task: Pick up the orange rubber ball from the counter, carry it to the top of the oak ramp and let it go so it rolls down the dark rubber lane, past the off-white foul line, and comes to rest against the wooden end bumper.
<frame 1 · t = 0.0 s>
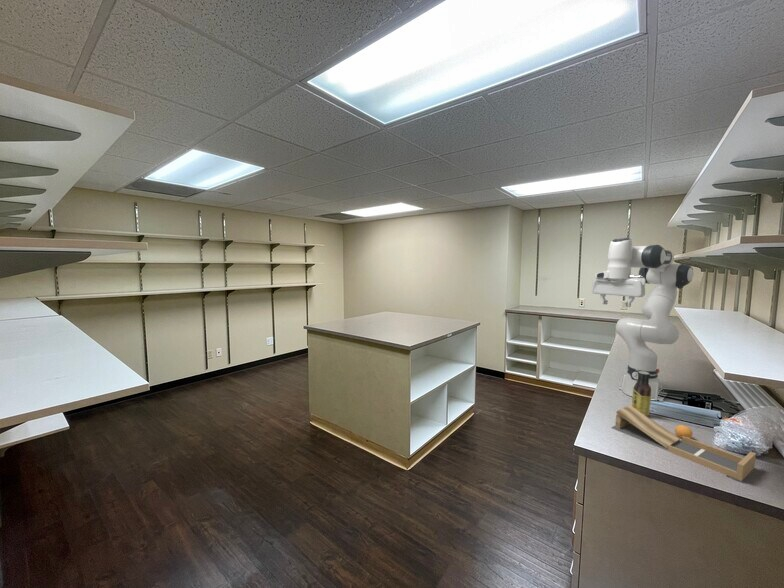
hand: (616, 305, 144), 48 cm above the counter, fingers open, 8 cm apart
ramp: (646, 434, 124), resting on lane
sauce bottle: (639, 416, 141), on the counter
ball: (682, 438, 122), on the counter
lane: (675, 446, 117), on the counter
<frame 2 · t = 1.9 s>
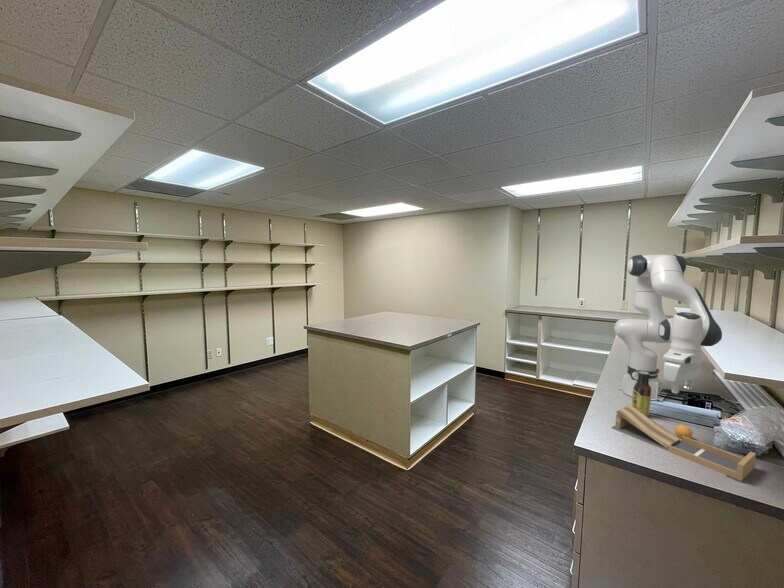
hand: (681, 391, 122), 18 cm above the counter, fingers open, 8 cm apart
nothing on the counter moved.
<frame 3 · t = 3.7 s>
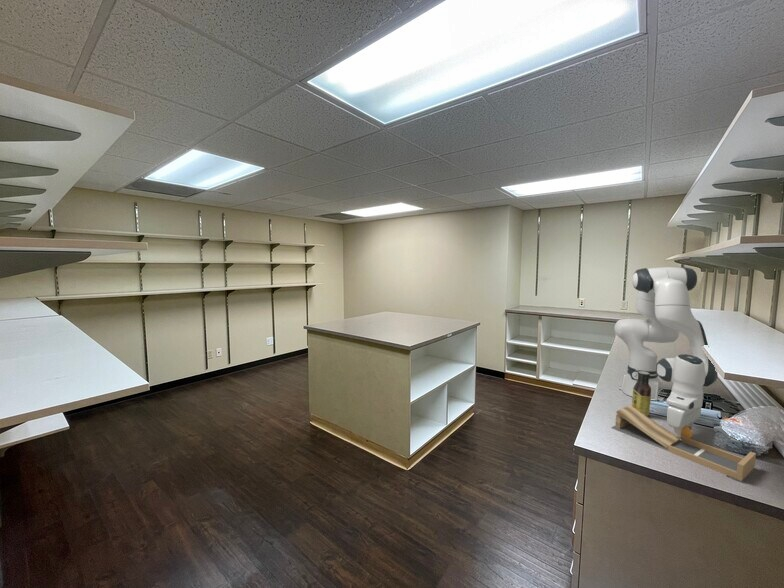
hand: (683, 433, 122), 2 cm above the counter, fingers open, 8 cm apart
nothing on the counter moved.
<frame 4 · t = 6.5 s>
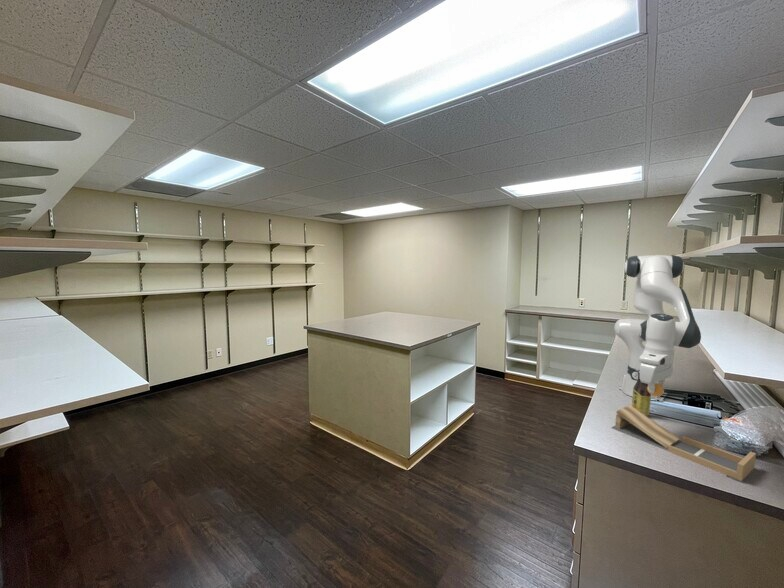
hand: (655, 390, 125), 17 cm above the counter, fingers closed on ball, 5 cm apart
ball: (655, 395, 125), point 15 cm above the counter, tilted 6°, touching gripper
everything else where it was.
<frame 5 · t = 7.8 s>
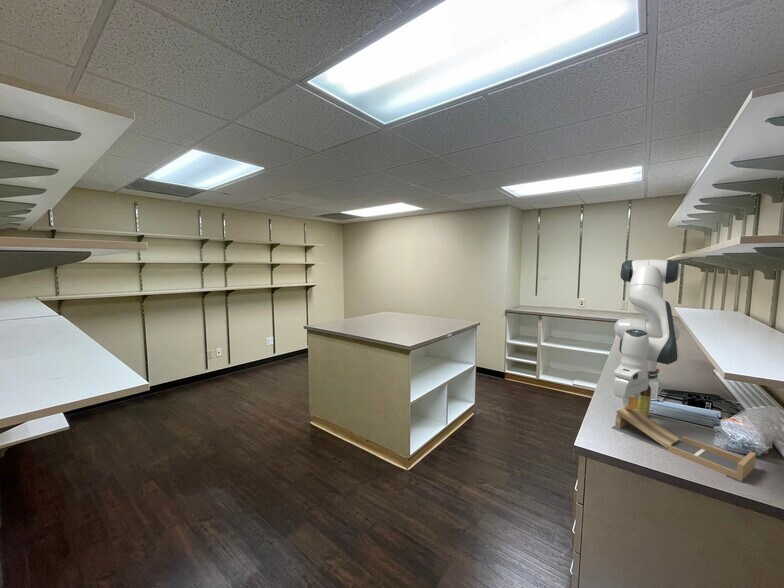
hand: (630, 403, 129), 10 cm above the counter, fingers closed on ball, 5 cm apart
ball: (630, 408, 129), point 8 cm above the counter, tilted 6°, touching gripper
everything else where it was.
when the fingers open (10 cm above the counter, at t = 8.5 s): ball drops 6 cm and tips over, resting on lane.
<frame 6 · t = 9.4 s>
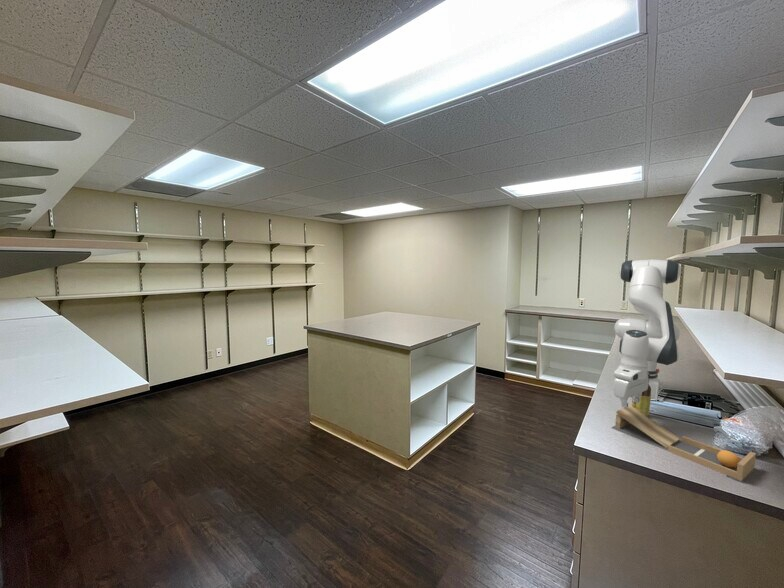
hand: (630, 404, 129), 10 cm above the counter, fingers open, 8 cm apart
ball: (718, 458, 107), point 2 cm above the counter, tilted 59°, touching lane
everything else where it was.
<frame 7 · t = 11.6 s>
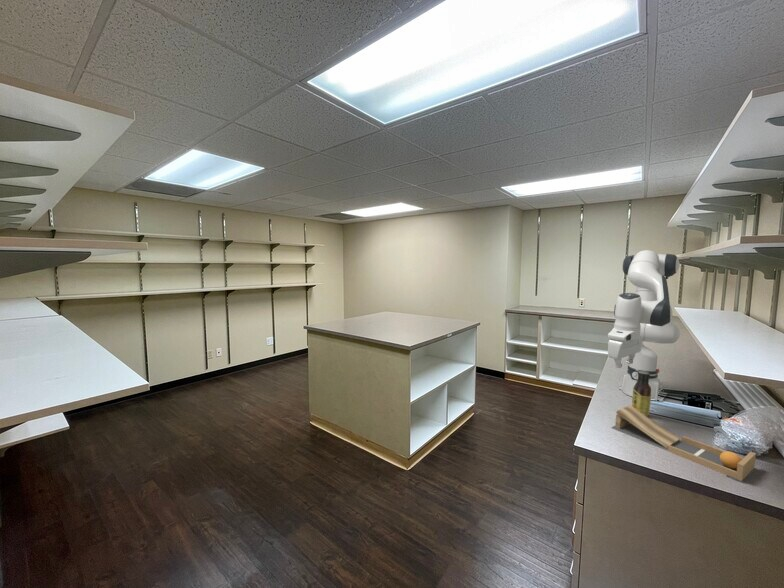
hand: (624, 365, 133), 24 cm above the counter, fingers open, 8 cm apart
ball: (720, 457, 106), point 2 cm above the counter, tilted 74°, touching lane
everything else where it was.
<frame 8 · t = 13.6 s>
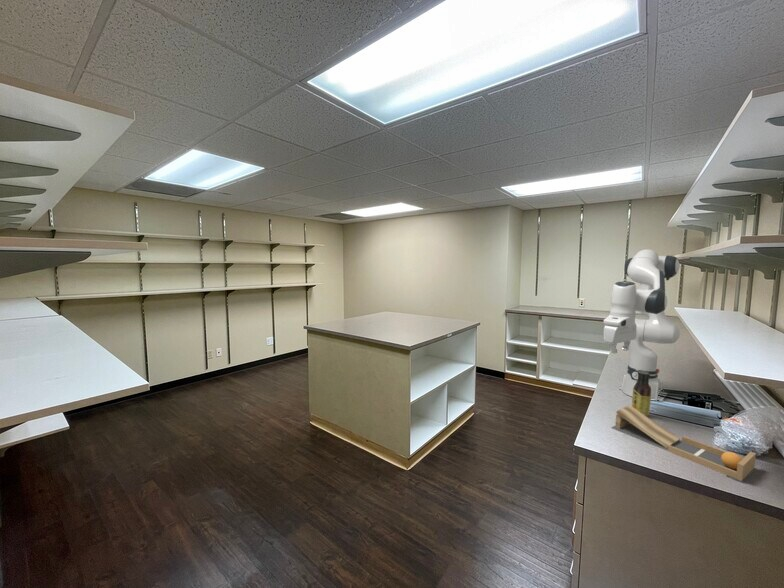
hand: (619, 351, 137), 29 cm above the counter, fingers open, 8 cm apart
ball: (721, 457, 106), point 2 cm above the counter, tilted 81°, touching lane
everything else where it was.
at the end: ball inside the target area (1.8 cm from its centre), point 2.5 cm above the counter; the gripper is holding nothing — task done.
